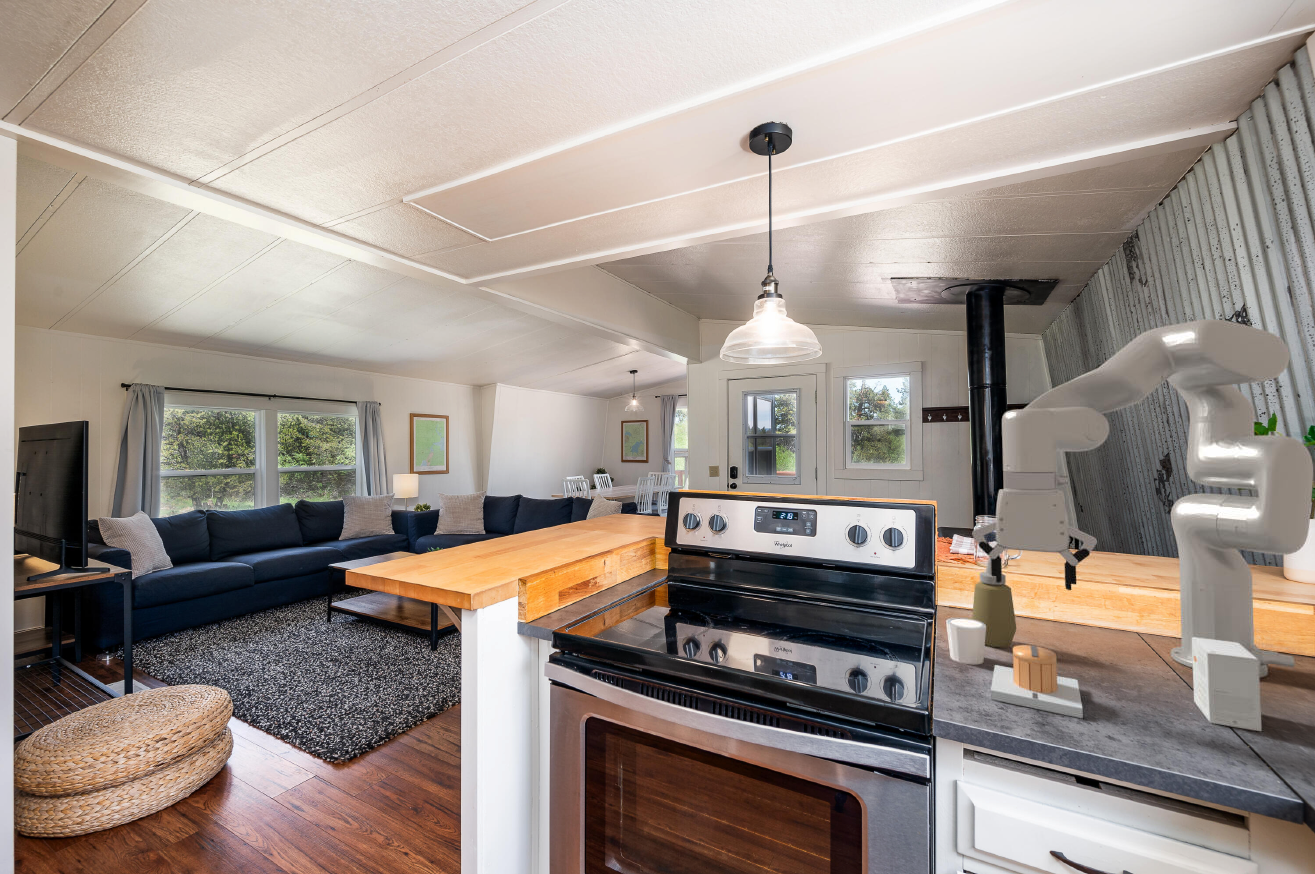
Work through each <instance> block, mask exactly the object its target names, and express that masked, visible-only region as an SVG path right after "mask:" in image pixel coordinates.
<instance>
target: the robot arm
mask: <svg viewBox="0 0 1315 874" xmlns="http://www.w3.org/2000/svg"><path fill="white" fill-rule="evenodd" d="M1289 362H1290V352H1289V349H1288V346H1287V344H1286V343H1285V342H1284V340H1282V338H1280V337H1279V336H1278V335H1276V334H1274V333H1272V332H1270V331H1266V330H1264V329H1260V328H1256V327H1253V326H1249V325H1245V324H1241V323H1238V322H1233V321H1228V320H1224V319H1217V318H1216V319H1215V318H1207V319H1205V318H1204V319H1198V320H1191V321H1188V322H1182V323H1177V324H1176V323H1175V324H1170V325H1165V326H1160V327H1155V328H1153V329H1150V330H1147V331H1145V332H1142V333H1141V334H1139V335H1137V336H1136V337H1135V338H1133V340H1131V341H1130V342H1129V343H1127V344H1126V345H1125V346H1124V347H1122V348H1121V349H1120V350H1119V351H1117V352H1116V353H1115V354H1114V355H1113V356H1111V357H1110V358H1109V359H1108V360H1106V361H1105V362H1104V363H1103V364H1101V365H1100V366H1099V367H1097V368H1095V369H1092V370H1090V371H1089V372H1086V373H1083V374H1081V375H1080V376H1077V377H1075V378H1073V379H1071V380H1068V381H1066V382H1065V383H1062V384H1060V385H1058V386H1056V387H1053V388H1051V389H1049V390H1048V391H1046V392H1044V393H1043V394H1041V395H1039V396H1038V397H1036V398H1035V399H1034V400H1033V401H1032V402H1030V403H1029V404H1027V406H1025V407H1024V408H1021V409H1010V410H1008V411H1005V412H1004V413H1003V415H1002V418H1001V437H1002V471H1003V472H1002V474H1003V489H1002V488H1001V489H999V490H998V492H997V500H996V508H995V509H996V510H995V521H993V522H991V523H988V524H987V525H984V526H982V527H979V528H976V529H974V530H972V532H971V535H972V537H973V538H974V539H975V540H974V541H975V542H976V543H977V545H978V547H979V549H981V550H982V551H983V552H984V553H985V554H987V556H988V558H989V557H990V558H991V571H992V576H996V583H1000V582H1001V581H1002V574H1003V573H1002V571H1003V569H1002V557H1001V554H1002V553H1004V551H1005V550H1007V549H1008V550H1015V551H1017V550H1018V551H1026V552H1039V553H1040V552H1041V553H1056V554H1057V553H1059V554H1060V556H1061V557H1062V558H1063V559H1064V560H1065V562H1064V586H1065V590H1067V591H1072V585H1077V565H1079V564H1080V563H1081V562H1083V560H1085V559H1086V558H1087V557H1089V556H1090V554H1091V552H1092V551H1093V550H1094V548H1095V546H1096V545H1097V544H1098V540H1097V538H1096V537H1094V536H1091V535H1089V533H1085V532H1084V531H1081V530H1079V529H1077V528H1074V527H1072V526H1071V525H1069V519H1068V510H1067V509H1068V508H1067V504H1066V499H1065V495H1064V490H1063V491H1062V490H1059V489H1058V487H1060V486H1063V485H1069V476H1067V475H1066V476H1065V475H1062V474H1061V475H1060V474H1059V473H1058V461H1057V460H1058V459H1057V452H1085V451H1086V452H1087V451H1090V450H1093V449H1096V448H1098V447H1100V446H1101V445H1102V444H1104V442H1105V441H1106V440H1107V438H1108V436H1109V433H1110V425H1109V424H1110V423H1109V422H1108V420H1107V418H1106V416H1104V415H1103V414H1106V413H1110V412H1115V411H1119V410H1122V409H1125V408H1128V407H1130V406H1134V405H1136V404H1138V403H1140V402H1141V401H1143V400H1144V399H1145V398H1147V396H1149V395H1150V394H1151V393H1153V392H1154V391H1155V390H1156V389H1157V388H1158V387H1159V386H1161V385H1162V384H1163V383H1165V381H1167V382H1168V383H1169V384H1170V385H1171V386H1172V387H1173V388H1174V389H1175V390H1176V391H1177V392H1178V393H1179V395H1180V396H1181V397H1182V398H1183V400H1184V401H1185V403H1186V405H1187V408H1188V412H1189V428H1188V441H1187V454H1186V470H1187V475H1188V476H1189V478H1190V479H1191V480H1192V481H1193V482H1195V483H1196V484H1199V485H1203V486H1209V487H1217V488H1229V489H1230V488H1231V489H1246V490H1257V492H1258V497H1257V496H1242V495H1236V494H1235V495H1234V494H1222V493H1221V494H1219V493H1193V494H1187V495H1185V496H1182V497H1180V498H1179V499H1178V500H1176V501H1175V502H1174V504H1173V506H1172V507H1171V511H1170V522H1171V527H1172V530H1173V533H1174V536H1175V541H1176V544H1177V545H1176V546H1177V550H1178V552H1177V553H1178V561H1179V562H1178V563H1179V565H1178V566H1179V589H1180V591H1179V594H1180V595H1179V596H1180V633H1181V636H1180V637H1181V646H1176V647H1173V648H1172V649H1171V650H1170V655H1171V658H1172V659H1173V660H1174V661H1176V662H1178V663H1179V664H1181V665H1183V666H1186V667H1189V668H1192V669H1193V660H1192V637H1196V638H1205V639H1213V640H1220V641H1229V642H1236V643H1239V644H1241V645H1242V646H1243V647H1244V648H1245V649H1246V650H1248V651H1249V652H1250V653H1251V654H1252V655H1254V656H1255V657H1256V658H1257V659H1258V660H1259V679H1260V678H1263V677H1266V676H1268V672H1269V671H1268V667H1267V666H1269V664H1271V665H1278V667H1286V668H1293V669H1294V668H1295V658H1294V657H1293V656H1292V655H1287V654H1279V652H1278V651H1274V650H1273V651H1272V650H1263V649H1261V648H1259V647H1258V646H1257V645H1256V644H1255V632H1254V631H1255V630H1254V627H1255V626H1254V600H1253V599H1254V597H1253V594H1254V592H1253V591H1254V590H1253V585H1254V584H1253V575H1252V571H1251V568H1250V566H1249V564H1248V562H1247V561H1246V559H1245V558H1244V557H1243V555H1242V554H1241V553H1240V552H1239V550H1241V551H1242V550H1243V551H1249V552H1255V553H1263V554H1270V555H1277V556H1278V555H1279V556H1280V555H1282V556H1283V555H1284V556H1285V555H1286V556H1287V555H1291V554H1294V553H1296V552H1298V551H1300V550H1301V549H1302V548H1304V545H1305V544H1306V542H1307V538H1308V536H1309V529H1310V519H1311V508H1312V507H1311V506H1312V494H1313V484H1314V483H1313V482H1314V464H1313V460H1312V456H1311V454H1310V451H1309V450H1308V448H1307V446H1305V445H1304V444H1303V443H1302V442H1301V441H1299V440H1298V439H1296V438H1293V437H1290V436H1285V435H1269V434H1268V435H1255V409H1254V407H1253V404H1252V403H1251V402H1250V401H1249V398H1248V397H1246V395H1244V394H1243V393H1242V392H1241V391H1240V390H1239V389H1237V387H1235V386H1233V385H1240V384H1241V385H1242V384H1254V383H1263V382H1268V381H1270V380H1273V379H1275V378H1278V377H1279V376H1280V375H1281V374H1282V373H1284V372H1285V370H1286V369H1287V367H1288V365H1289ZM993 532H995V540H996V544H995V545H994V546H992V545H990V544H989V542H987V541H986V539H985V535H987V534H989V533H993ZM1070 537H1072V538H1075V539H1077V540H1080V541H1082V542H1083V544H1082V546H1081V547H1080V548H1079V549H1078V550H1076V551H1075V552H1074V553H1073V552H1072V551H1071V550H1070V549H1069V545H1070Z"/></svg>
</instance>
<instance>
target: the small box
mask: <svg viewBox="0 0 1315 874" xmlns="http://www.w3.org/2000/svg"><path fill="white" fill-rule="evenodd" d="M1192 660H1193V668H1192V675H1193V676H1192V677H1193V678H1192V680H1193V681H1192V683H1193V702H1194V704H1196V705H1197V707H1198V708H1199V710H1200V711H1201V712H1202V714H1203V715H1204V716H1205V718H1206V719H1207V720H1208V722H1209V723H1210V724H1216V725H1220V726H1221V725H1222V726H1227V727H1232V728H1237V729H1238V728H1239V729H1245V730H1249V731H1256V732H1262V730H1263V729H1262V706H1261V705H1262V704H1261V686H1260V682H1261V681H1260V678H1259V660H1258V659H1257V658H1256V657H1255V656H1254V655H1252V654H1251V653H1250V652H1249V651H1248V650H1246V649H1245V648H1244V647H1243V646H1242V645H1241V644H1239V643H1236V642H1229V641H1220V640H1213V639H1205V638H1196V637H1192Z"/></svg>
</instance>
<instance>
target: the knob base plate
mask: <svg viewBox="0 0 1315 874" xmlns="http://www.w3.org/2000/svg"><path fill="white" fill-rule="evenodd" d="M990 700H992V701H997V702H1001V703H1003V702H1004V703H1008V704H1012V705H1017V706H1022V707H1025V708H1032V709H1036V710H1041V711H1046V712H1050V713H1055V714H1059V715H1064V716H1069V717H1074V718H1079V719H1083V717H1084V715H1083V704H1082V699H1081V693H1080V689H1079V681H1078V679H1075V678H1070V677H1064V676H1059V675H1057V691H1055V692H1053V693H1052V692H1051V693H1042V692H1041V693H1040V692H1034V691H1031V690H1027V689H1024V688H1021V687H1019V686H1018V685H1016V684H1015V683H1014V672H1013V667H1010V666H1009V667H1007V666H1003V665H997V664H994V669H993V674H992V680H991V687H990Z"/></svg>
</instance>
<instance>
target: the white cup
mask: <svg viewBox="0 0 1315 874" xmlns="http://www.w3.org/2000/svg"><path fill="white" fill-rule="evenodd" d="M945 622H946V631H947V638H948V639H947V640H948V649H949V655H950V659H951V660H953V661H956V662H958V663H961V664H965V665H981V664H983V663H984V658H985V647H986V646H985V635H986V625H985V624H984V623H982V622H980V621H976V620H972V618H971V619H970V618H965V617H951V618H947V619H946V620H945Z"/></svg>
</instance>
